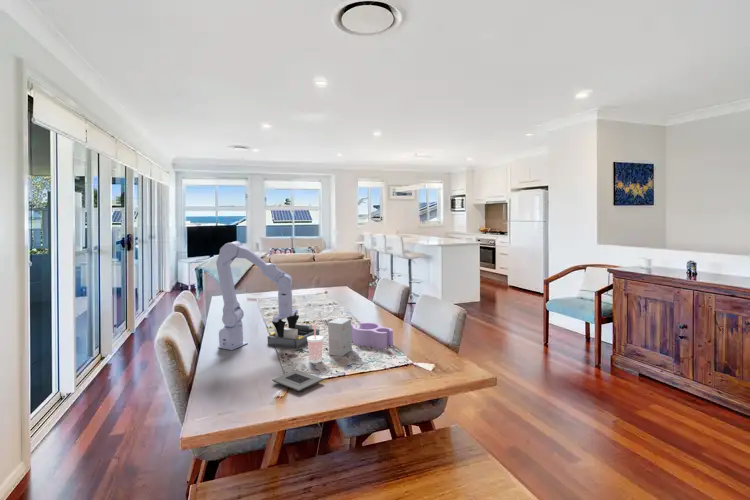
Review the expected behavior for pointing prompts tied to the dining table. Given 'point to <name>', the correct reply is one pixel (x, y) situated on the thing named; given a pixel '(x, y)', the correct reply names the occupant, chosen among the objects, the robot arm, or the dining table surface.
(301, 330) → the rack
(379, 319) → the dining table surface
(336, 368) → the dining table surface
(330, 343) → the small box
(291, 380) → the grey picture frame
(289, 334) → the block
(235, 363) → the dining table surface
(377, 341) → the clip
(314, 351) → the beverage cup
